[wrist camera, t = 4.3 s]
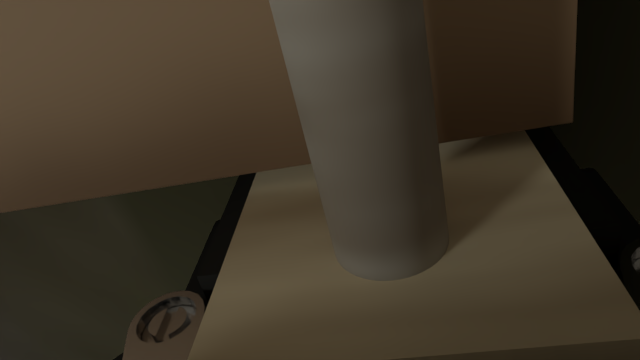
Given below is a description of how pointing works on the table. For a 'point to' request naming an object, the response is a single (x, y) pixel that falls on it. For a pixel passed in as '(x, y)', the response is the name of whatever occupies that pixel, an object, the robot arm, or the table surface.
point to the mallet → (404, 222)
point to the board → (233, 88)
